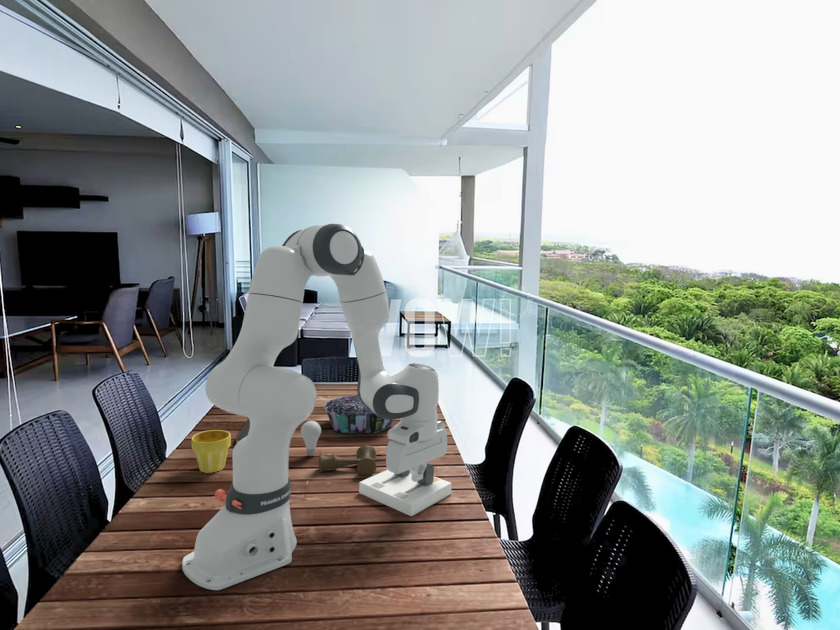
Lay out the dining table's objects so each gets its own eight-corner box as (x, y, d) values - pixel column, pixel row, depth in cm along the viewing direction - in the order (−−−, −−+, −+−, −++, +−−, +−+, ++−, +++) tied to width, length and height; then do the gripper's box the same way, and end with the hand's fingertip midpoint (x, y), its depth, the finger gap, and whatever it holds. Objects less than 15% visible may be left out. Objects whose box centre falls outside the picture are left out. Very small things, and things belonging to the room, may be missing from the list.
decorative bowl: (407, 438, 181) (409, 411, 180) (329, 441, 170) (331, 412, 170) (385, 416, 204) (387, 392, 204) (315, 418, 194) (318, 392, 193)
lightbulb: (316, 460, 154) (316, 425, 153) (297, 458, 156) (297, 423, 154) (324, 453, 160) (324, 419, 159) (305, 451, 161) (305, 417, 160)
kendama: (320, 466, 152) (387, 462, 155) (317, 481, 143) (389, 476, 145) (319, 446, 151) (387, 443, 154) (316, 460, 142) (389, 456, 144)
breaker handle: (402, 477, 137) (402, 461, 136) (394, 473, 139) (394, 458, 138) (409, 473, 139) (410, 458, 139) (401, 470, 141) (401, 455, 141)
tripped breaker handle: (426, 485, 132) (426, 469, 131) (417, 482, 134) (417, 466, 133) (433, 482, 134) (433, 466, 134) (424, 478, 136) (425, 462, 136)
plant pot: (211, 479, 140) (210, 444, 139) (184, 471, 145) (183, 438, 143) (239, 465, 150) (238, 433, 149) (212, 459, 154) (212, 427, 153)
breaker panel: (411, 516, 123) (411, 504, 122) (359, 493, 134) (359, 481, 134) (451, 493, 135) (451, 482, 135) (400, 474, 146) (400, 463, 146)
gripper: (435, 416, 140) (433, 465, 141) (382, 433, 124) (380, 488, 126) (454, 421, 136) (451, 472, 137) (402, 439, 120) (399, 496, 122)
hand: (417, 480), depth 131 cm, fingers closed
